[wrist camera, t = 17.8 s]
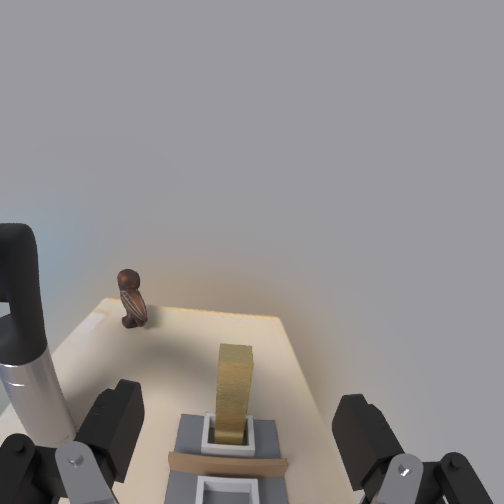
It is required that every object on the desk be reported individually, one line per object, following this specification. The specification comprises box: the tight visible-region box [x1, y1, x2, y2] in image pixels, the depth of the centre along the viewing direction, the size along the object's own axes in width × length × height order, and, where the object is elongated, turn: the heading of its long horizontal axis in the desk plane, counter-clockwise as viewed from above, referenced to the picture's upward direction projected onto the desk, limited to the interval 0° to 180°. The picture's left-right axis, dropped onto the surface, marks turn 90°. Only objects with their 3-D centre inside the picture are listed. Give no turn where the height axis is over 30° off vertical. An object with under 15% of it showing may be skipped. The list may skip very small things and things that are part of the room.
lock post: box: [214, 344, 253, 446], centre depth 35 cm, size 4×4×18 cm
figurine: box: [117, 269, 147, 328], centre depth 69 cm, size 13×6×15 cm, turn 46°
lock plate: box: [164, 412, 288, 504], centre depth 30 cm, size 24×16×4 cm, turn 3°
